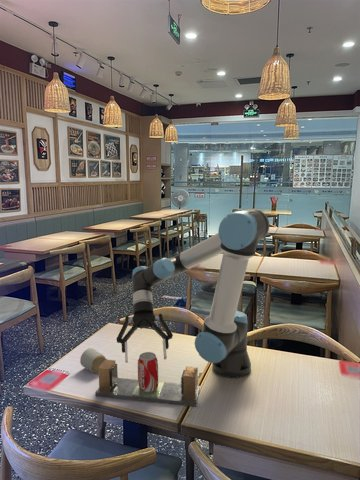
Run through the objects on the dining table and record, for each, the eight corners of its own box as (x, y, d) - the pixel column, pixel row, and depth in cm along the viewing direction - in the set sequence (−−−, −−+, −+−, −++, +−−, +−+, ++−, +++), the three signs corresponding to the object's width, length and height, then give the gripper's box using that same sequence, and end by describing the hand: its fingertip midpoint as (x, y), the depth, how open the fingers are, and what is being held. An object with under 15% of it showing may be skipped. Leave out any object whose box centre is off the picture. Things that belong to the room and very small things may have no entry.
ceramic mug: (92, 377, 134) (92, 358, 133) (80, 370, 139) (79, 351, 138) (114, 366, 142) (114, 348, 141) (101, 360, 147) (101, 342, 146)
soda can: (157, 393, 119) (156, 361, 118) (137, 393, 120) (135, 361, 118) (159, 382, 126) (158, 351, 125) (139, 382, 127) (138, 351, 125)
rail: (199, 389, 125) (199, 364, 123) (195, 407, 115) (195, 380, 114) (106, 380, 131) (105, 356, 130) (95, 396, 122) (94, 370, 120)
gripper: (174, 306, 140) (180, 360, 128) (110, 310, 137) (110, 366, 124) (176, 298, 134) (182, 353, 122) (109, 302, 130) (109, 359, 118)
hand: (146, 359), depth 123 cm, fingers open, 13 cm apart
